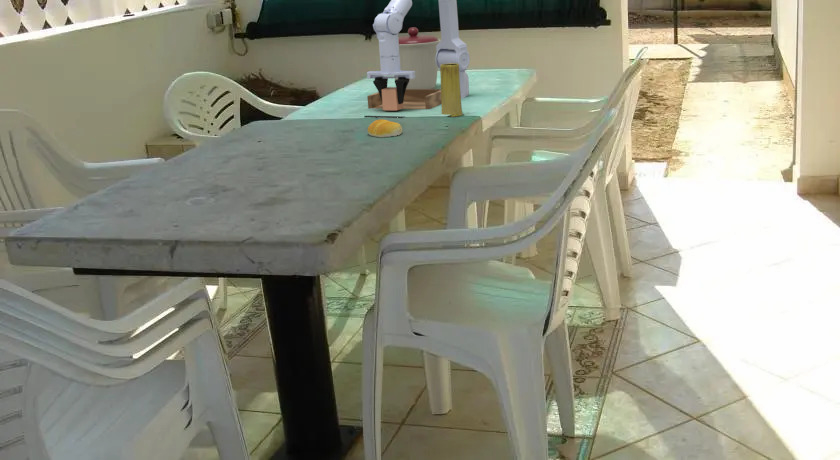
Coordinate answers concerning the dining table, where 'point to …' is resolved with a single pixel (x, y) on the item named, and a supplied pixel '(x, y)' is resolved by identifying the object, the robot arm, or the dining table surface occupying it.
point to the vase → (450, 90)
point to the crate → (411, 99)
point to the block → (390, 99)
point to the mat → (384, 116)
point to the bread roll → (384, 128)
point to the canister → (419, 59)
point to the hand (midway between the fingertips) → (392, 103)
